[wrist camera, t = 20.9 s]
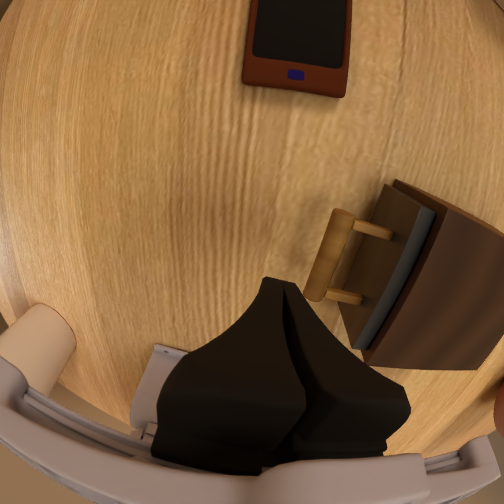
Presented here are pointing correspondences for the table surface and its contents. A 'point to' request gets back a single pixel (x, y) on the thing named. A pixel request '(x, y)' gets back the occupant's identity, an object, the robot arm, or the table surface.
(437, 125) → the table surface
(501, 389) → the eyeball
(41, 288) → the table surface
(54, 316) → the candle holder
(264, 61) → the smartphone
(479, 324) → the cabinet
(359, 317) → the drawer
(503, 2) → the small box
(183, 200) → the table surface
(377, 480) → the robot arm
